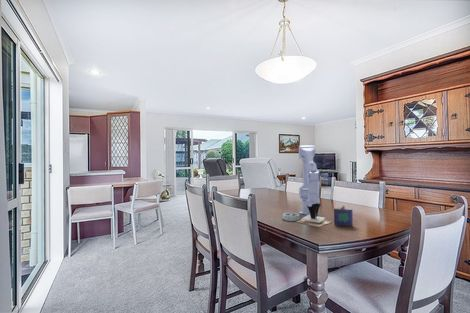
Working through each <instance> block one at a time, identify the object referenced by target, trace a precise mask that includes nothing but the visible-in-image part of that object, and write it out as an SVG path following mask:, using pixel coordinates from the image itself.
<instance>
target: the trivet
mask: <svg viewBox="0 0 470 313" xmlns="http://www.w3.org/2000/svg"><path fill="white" fill-rule="evenodd" d="M295 222H296V223H299V224H303V225H307V226H311V227H314V228H321V227H324V226H327V225H329V224H332V223H333V221H331V220H330V221H329V220H325V219H324V220H323V221H321V222H320V223H318V222H312V221H306V220H302V219H299V220H298V221H295Z"/></svg>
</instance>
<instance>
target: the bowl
mask: <svg viewBox="0 0 470 313" xmlns="http://www.w3.org/2000/svg"><path fill="white" fill-rule="evenodd" d="M282 214H283V215H282V218H283V220H284V221H285V222H286V221H287V222H296V221H299V220H300V213H296V212H284V213H282Z"/></svg>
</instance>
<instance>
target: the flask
mask: <svg viewBox="0 0 470 313" xmlns="http://www.w3.org/2000/svg"><path fill="white" fill-rule="evenodd" d="M353 212H354V211H353V209H352V208H346V207H345V205H342V206H341V207H337V208H336V207H335V208H334V210H333V215H334V216H333V224H334V226H336V227H353V226H354V221H353V220H354V219H353V216H354V215H353Z"/></svg>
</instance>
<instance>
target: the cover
mask: <svg viewBox="0 0 470 313" xmlns="http://www.w3.org/2000/svg"><path fill="white" fill-rule="evenodd" d="M325 219H326V217H322V216H318V215H317V217H316V216H315V218H311V216H310V215H305V216H304V217H302V218H301V220H306V221H312V222H318V223H320V222H321V221H323V220H325Z"/></svg>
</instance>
